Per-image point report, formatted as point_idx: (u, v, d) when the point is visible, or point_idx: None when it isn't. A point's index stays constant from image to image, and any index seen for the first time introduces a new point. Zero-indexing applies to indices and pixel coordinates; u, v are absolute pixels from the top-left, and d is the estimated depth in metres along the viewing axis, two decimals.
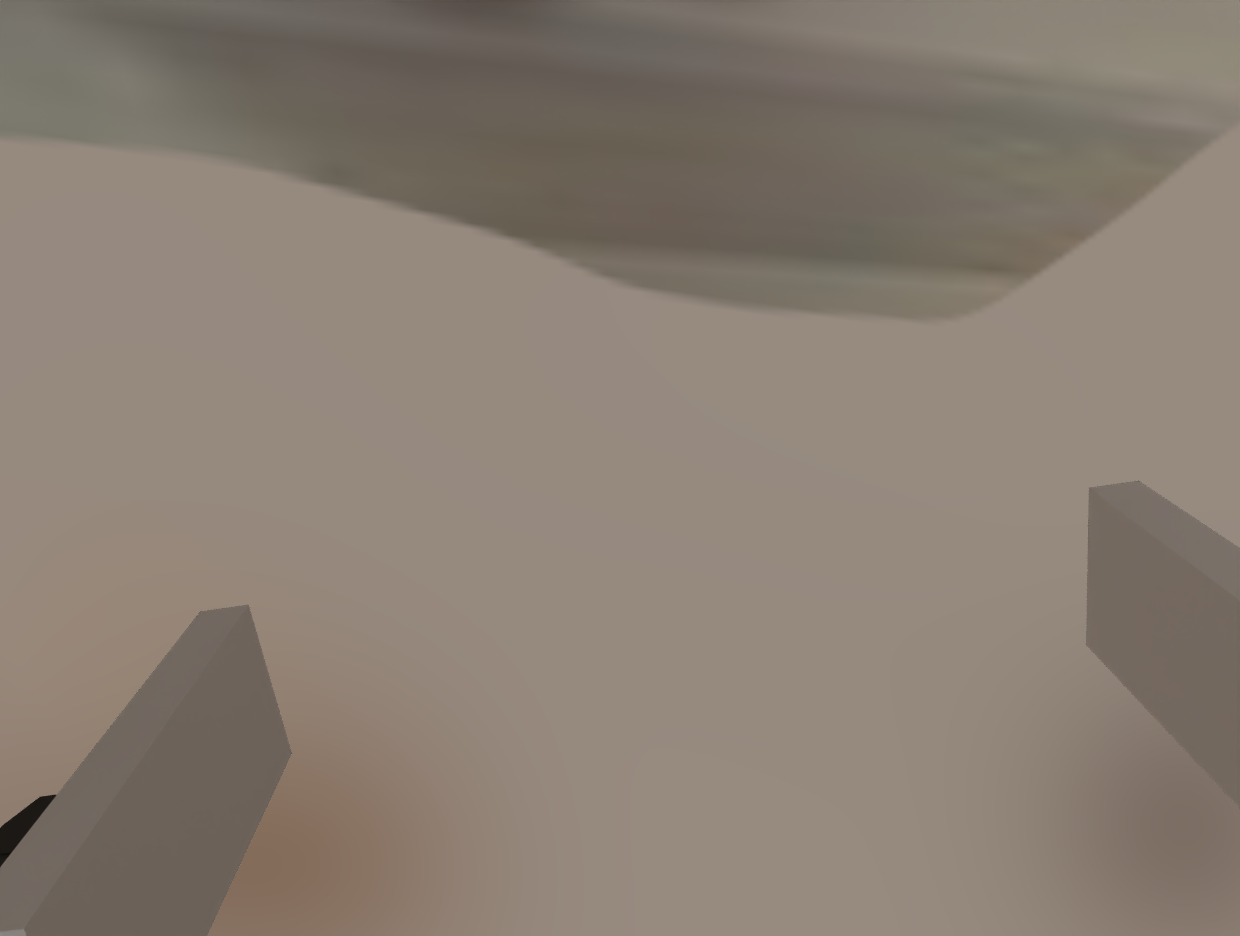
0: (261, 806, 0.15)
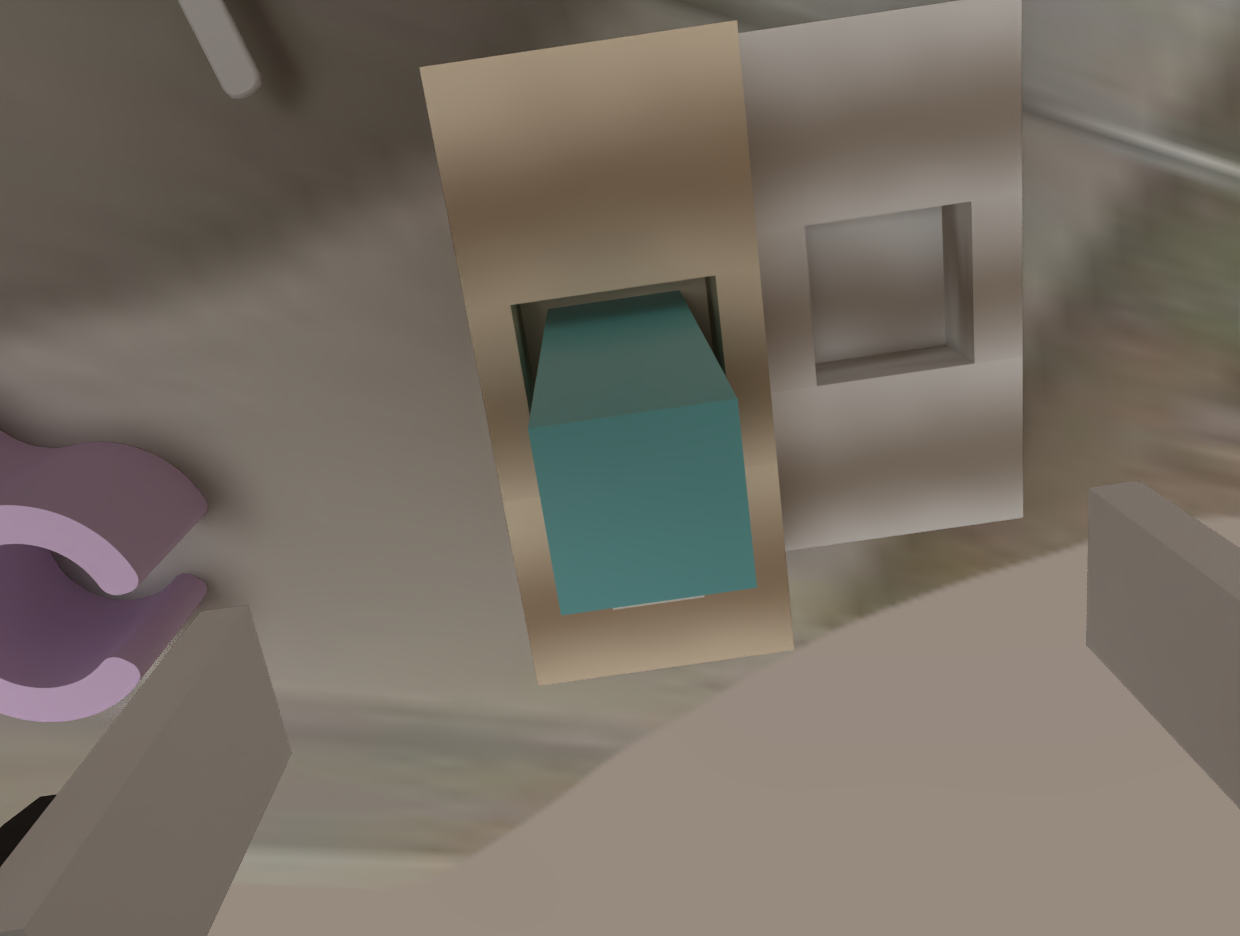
0: (261, 806, 0.15)
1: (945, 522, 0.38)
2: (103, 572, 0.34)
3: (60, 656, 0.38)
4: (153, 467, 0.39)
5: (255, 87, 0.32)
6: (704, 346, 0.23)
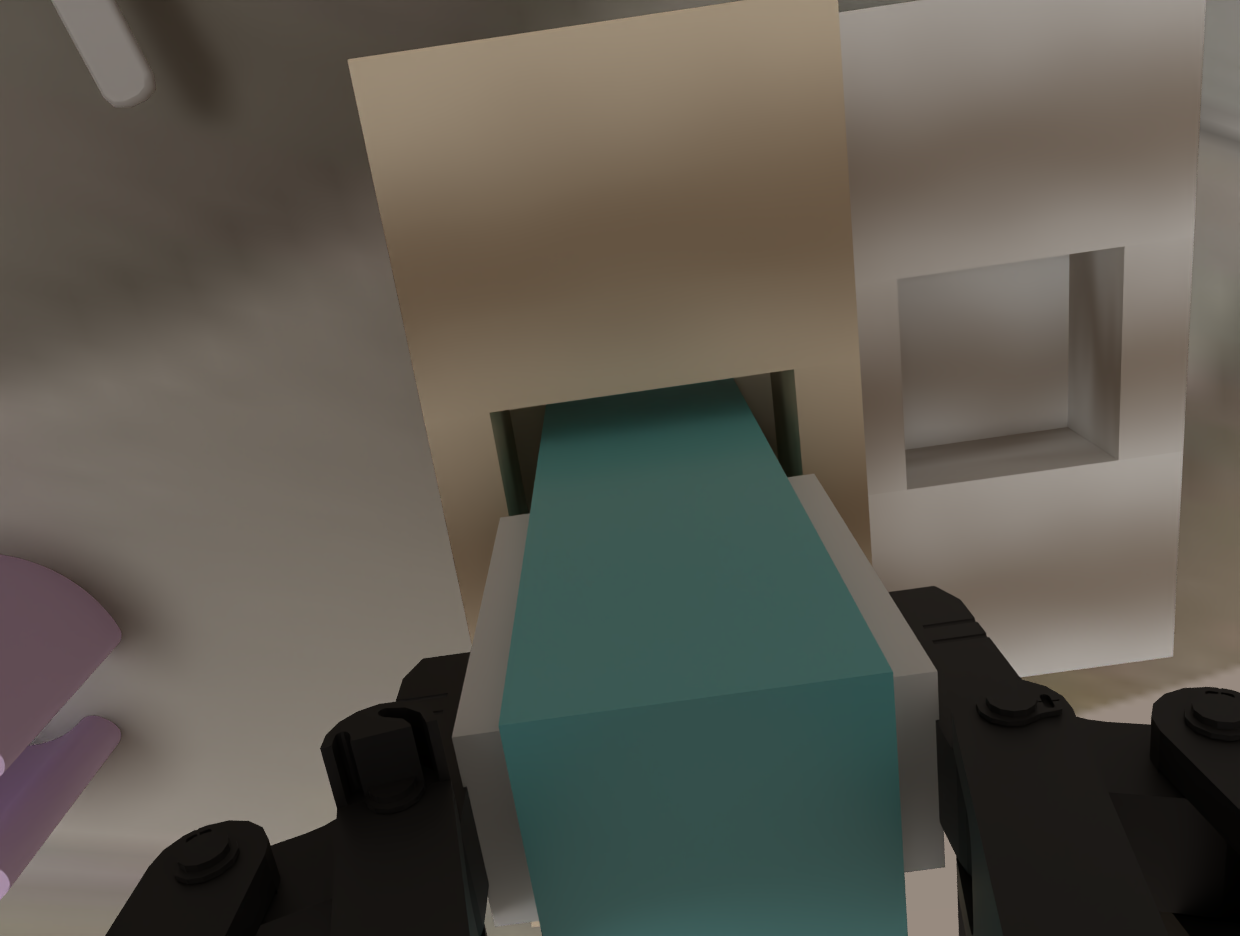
0: None
1: (1070, 662, 0.29)
2: None
3: None
4: (47, 591, 0.30)
5: (146, 92, 0.23)
6: (795, 508, 0.14)
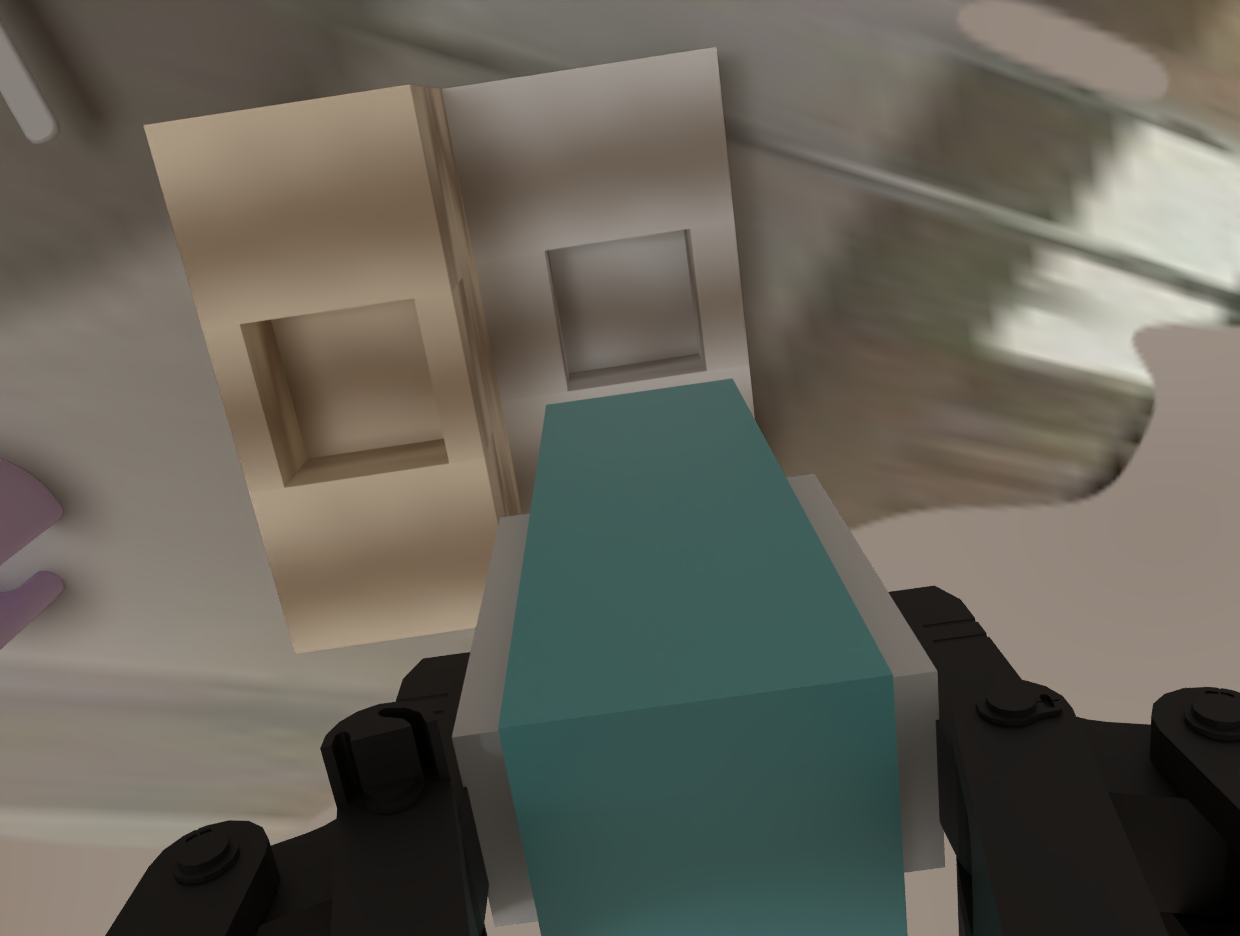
0: None
1: None
2: None
3: None
4: (9, 476, 0.44)
5: (53, 134, 0.37)
6: (795, 510, 0.14)
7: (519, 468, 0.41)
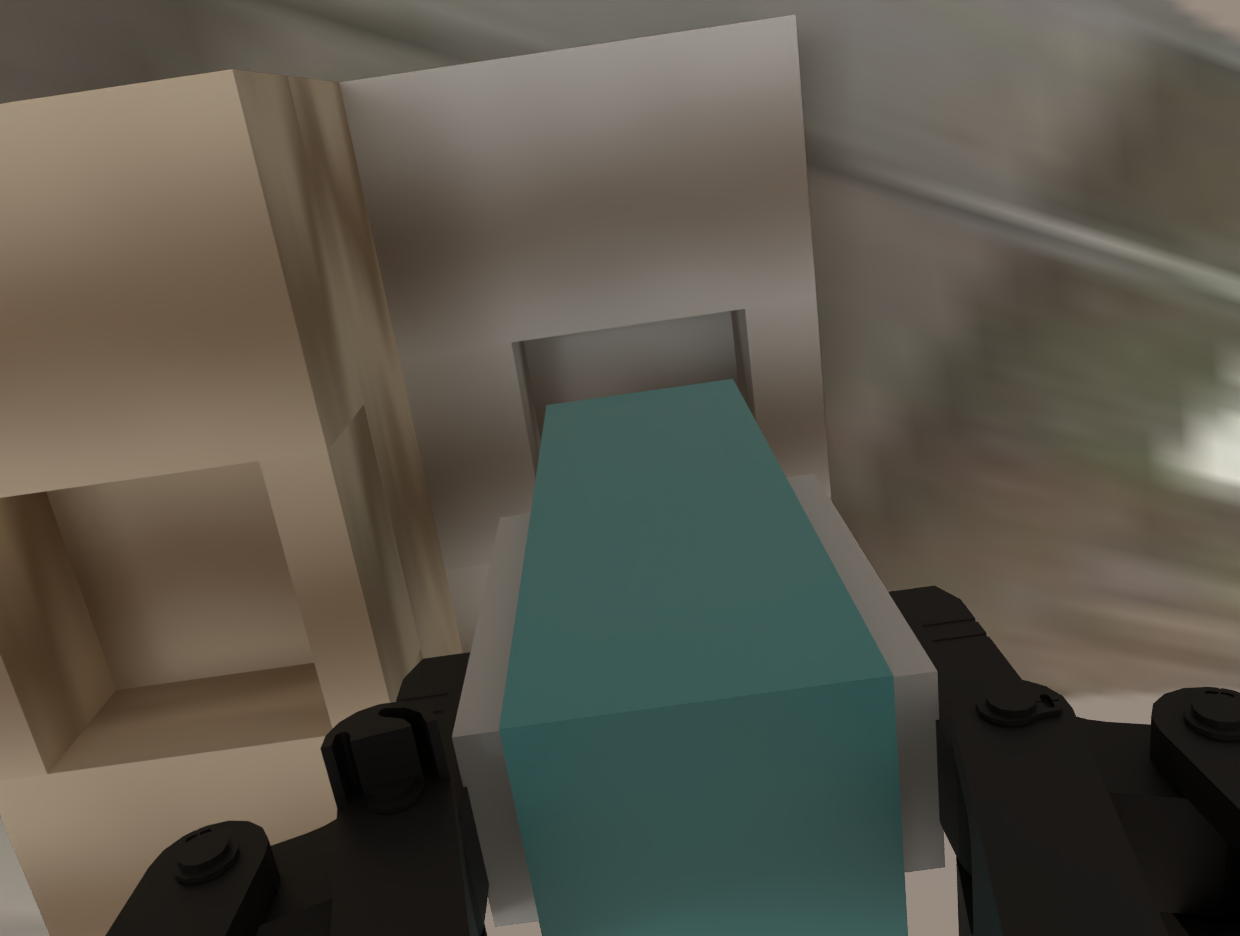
0: None
1: None
2: None
3: None
4: None
5: None
6: (796, 511, 0.14)
7: None
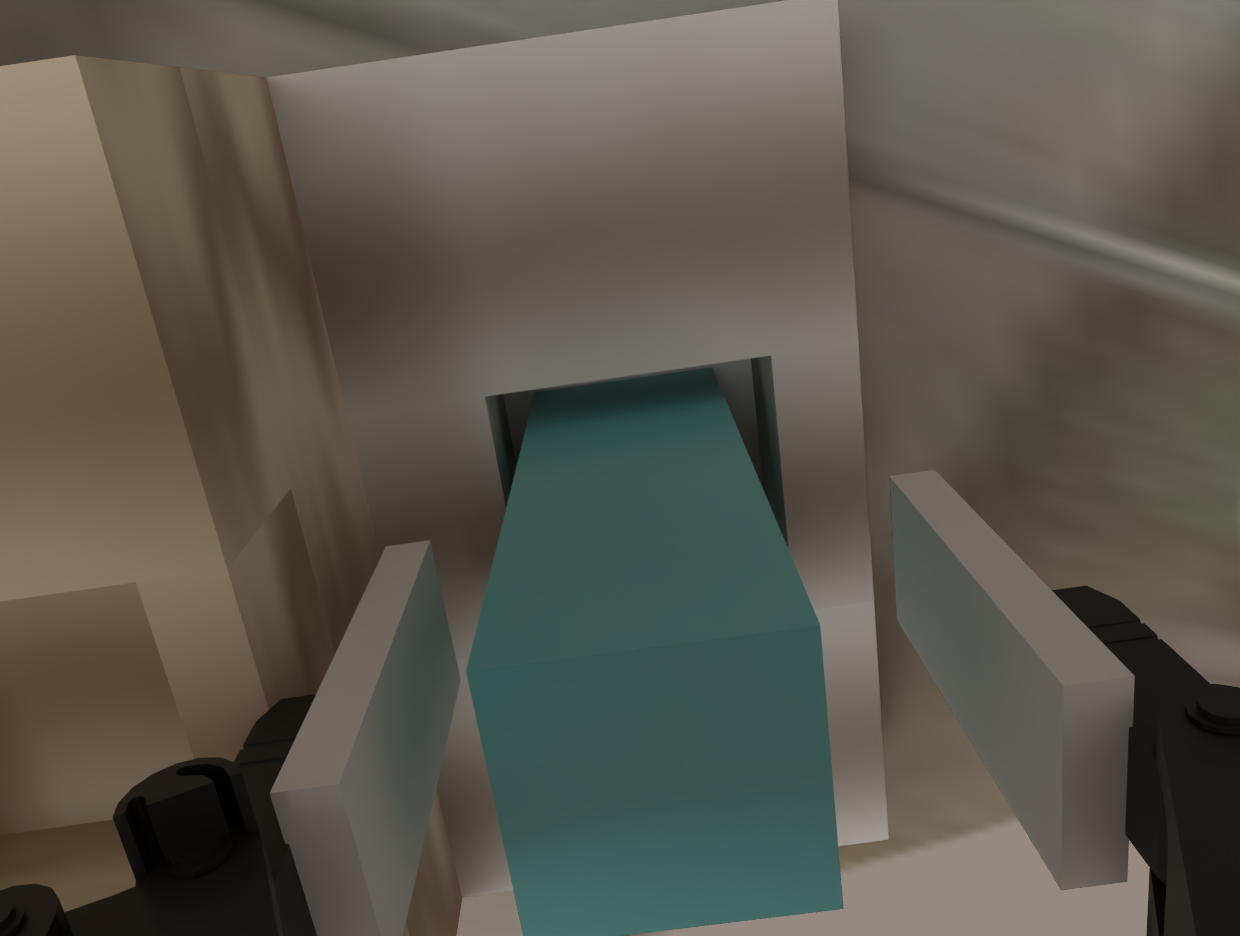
0: (448, 721, 0.16)
1: None
2: None
3: None
4: None
5: None
6: (754, 486, 0.15)
7: (444, 778, 0.22)
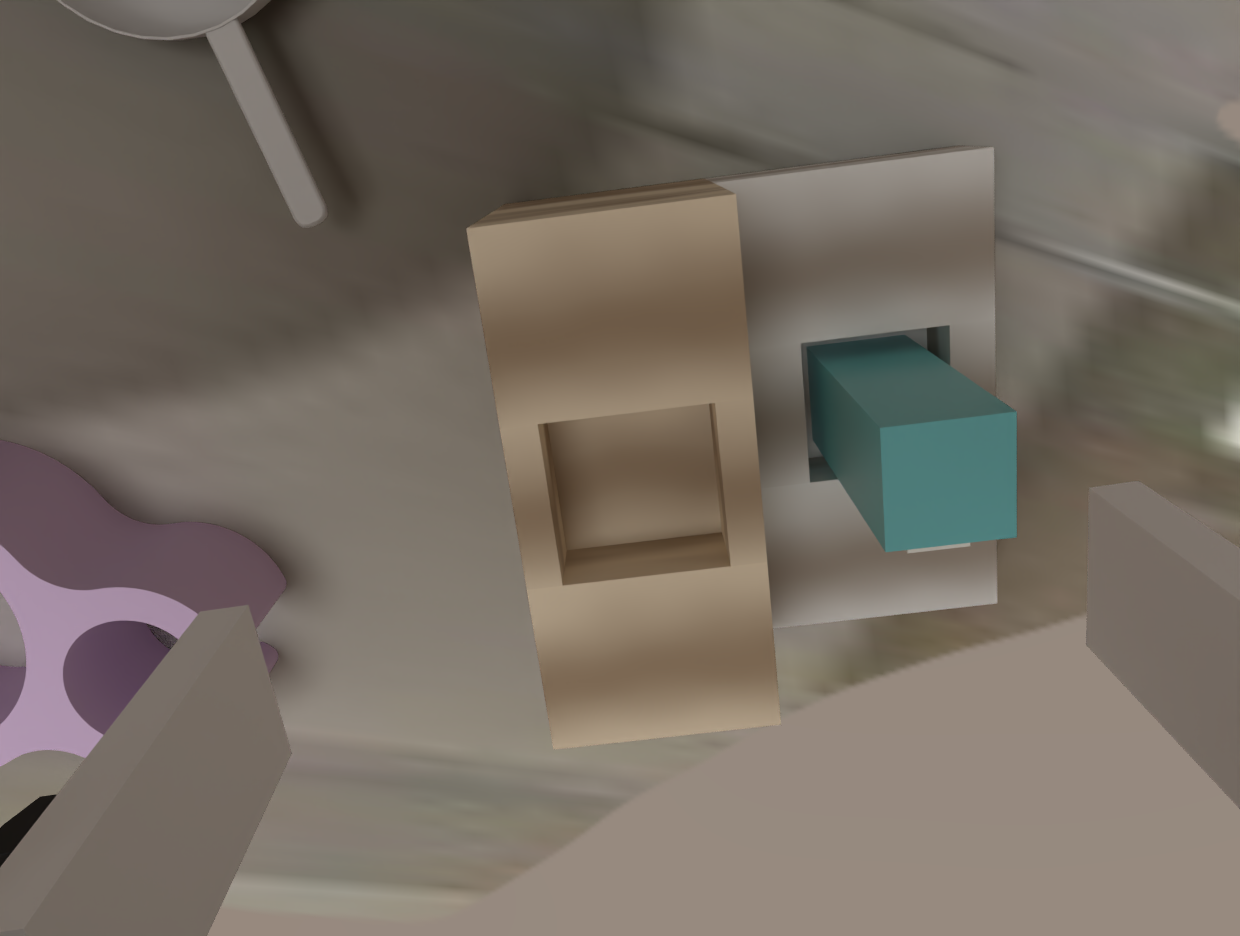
0: (261, 806, 0.15)
1: (926, 605, 0.41)
2: None
3: None
4: (243, 549, 0.44)
5: (322, 219, 0.37)
6: (962, 377, 0.34)
7: None
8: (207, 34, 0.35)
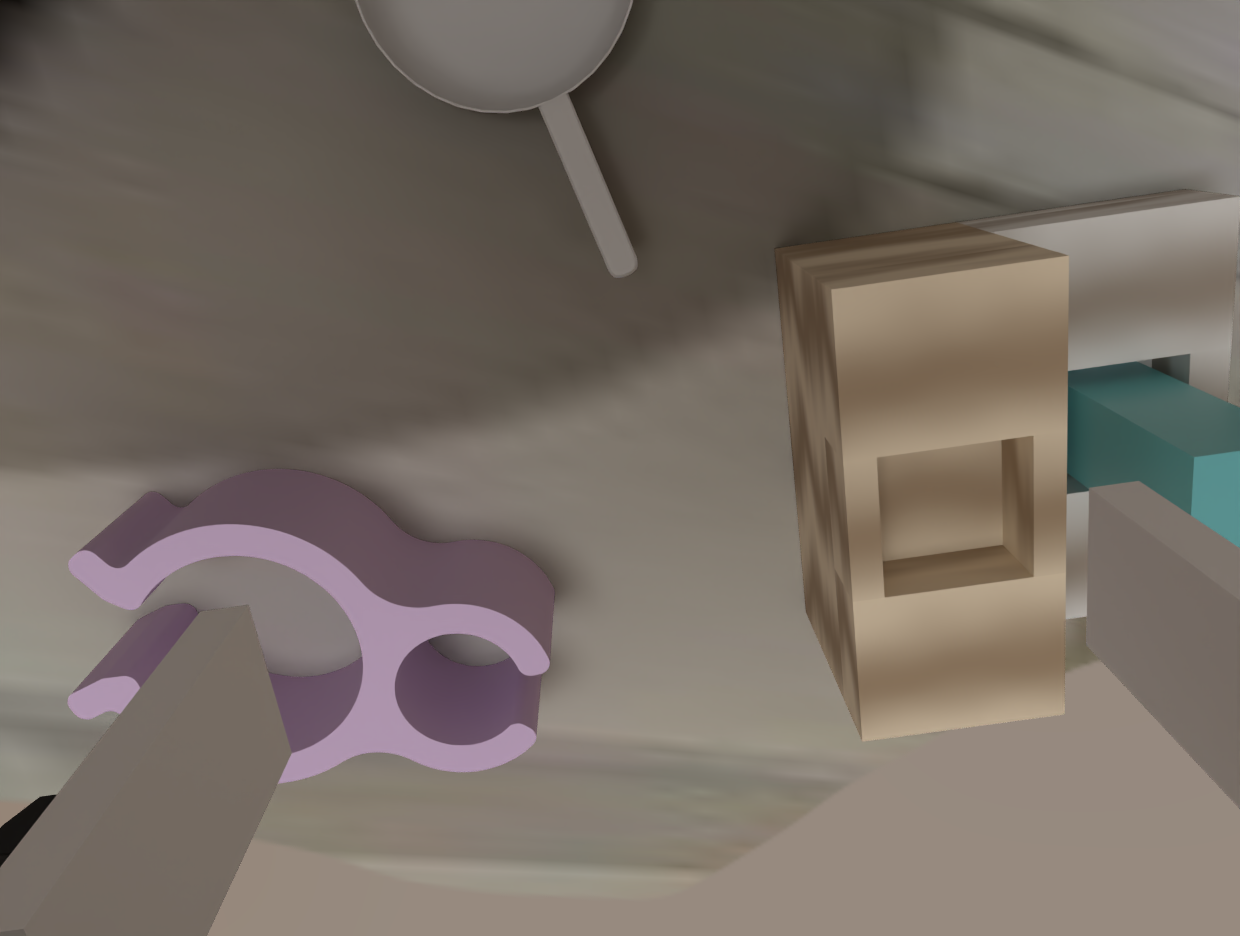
0: (261, 806, 0.15)
1: None
2: (523, 658, 0.43)
3: (454, 716, 0.46)
4: (523, 564, 0.48)
5: (634, 270, 0.41)
6: (1230, 405, 0.38)
7: None
8: (540, 107, 0.39)
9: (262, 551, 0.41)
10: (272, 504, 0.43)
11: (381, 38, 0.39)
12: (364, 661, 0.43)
